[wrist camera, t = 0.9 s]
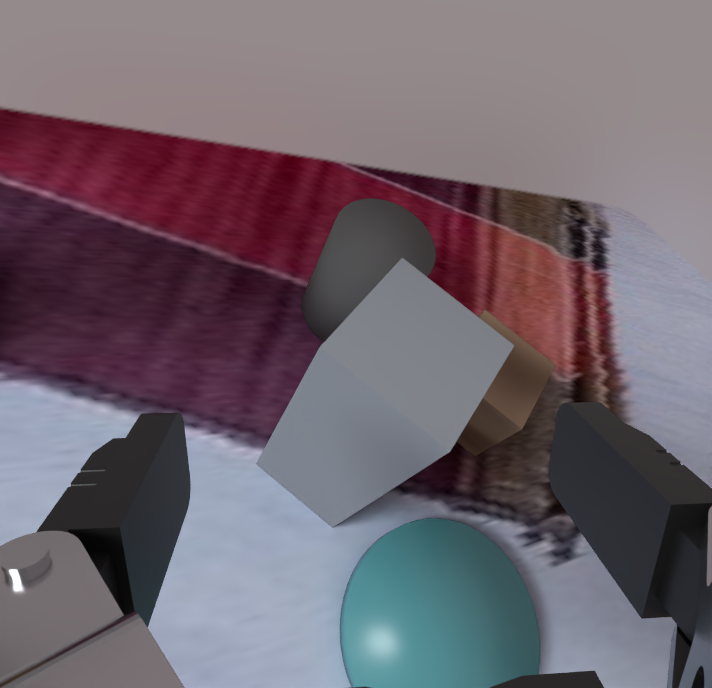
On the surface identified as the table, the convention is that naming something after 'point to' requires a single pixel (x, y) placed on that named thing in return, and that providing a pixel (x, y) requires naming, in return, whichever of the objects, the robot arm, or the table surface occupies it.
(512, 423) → the walnut cube
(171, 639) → the table surface
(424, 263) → the rubber cylinder
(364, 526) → the table surface
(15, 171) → the table surface
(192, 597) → the table surface
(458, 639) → the teal pad
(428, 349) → the slate block
